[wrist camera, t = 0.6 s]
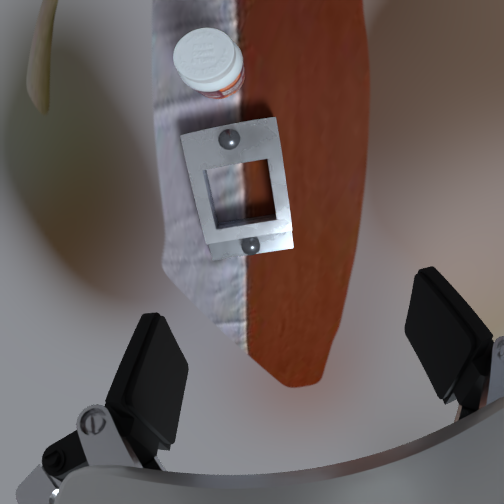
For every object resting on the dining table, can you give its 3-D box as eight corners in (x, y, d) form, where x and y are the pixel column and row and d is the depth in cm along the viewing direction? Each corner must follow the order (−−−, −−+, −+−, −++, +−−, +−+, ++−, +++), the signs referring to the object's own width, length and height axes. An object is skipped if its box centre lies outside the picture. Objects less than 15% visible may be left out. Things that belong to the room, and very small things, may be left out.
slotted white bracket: (185, 134, 30) (178, 135, 27) (274, 117, 30) (276, 116, 27) (213, 256, 38) (210, 267, 35) (292, 244, 37) (295, 254, 34)
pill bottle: (235, 105, 29) (226, 94, 19) (187, 92, 28) (156, 79, 18) (252, 61, 26) (252, 31, 16) (204, 49, 25) (182, 17, 15)
